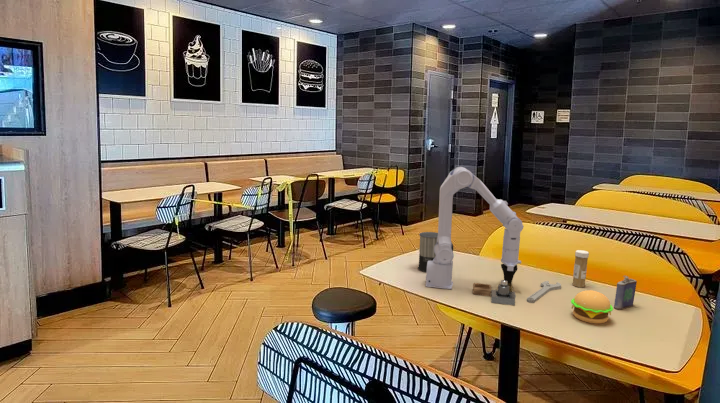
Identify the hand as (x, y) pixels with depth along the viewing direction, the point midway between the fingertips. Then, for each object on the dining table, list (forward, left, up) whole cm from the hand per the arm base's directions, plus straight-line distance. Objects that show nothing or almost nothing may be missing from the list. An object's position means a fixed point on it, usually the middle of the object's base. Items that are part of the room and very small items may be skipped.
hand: (507, 284), depth 177 cm
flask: (+37, -5, -2) cm, 38 cm away
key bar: (0, -4, -2) cm, 5 cm away
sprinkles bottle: (+26, +13, -2) cm, 29 cm away
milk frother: (-29, +17, -2) cm, 33 cm away
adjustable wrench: (+12, 0, -2) cm, 12 cm away
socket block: (-2, -11, -2) cm, 11 cm away
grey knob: (-2, -13, -2) cm, 13 cm away
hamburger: (+24, -19, -2) cm, 31 cm away
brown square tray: (-9, -7, -2) cm, 12 cm away
